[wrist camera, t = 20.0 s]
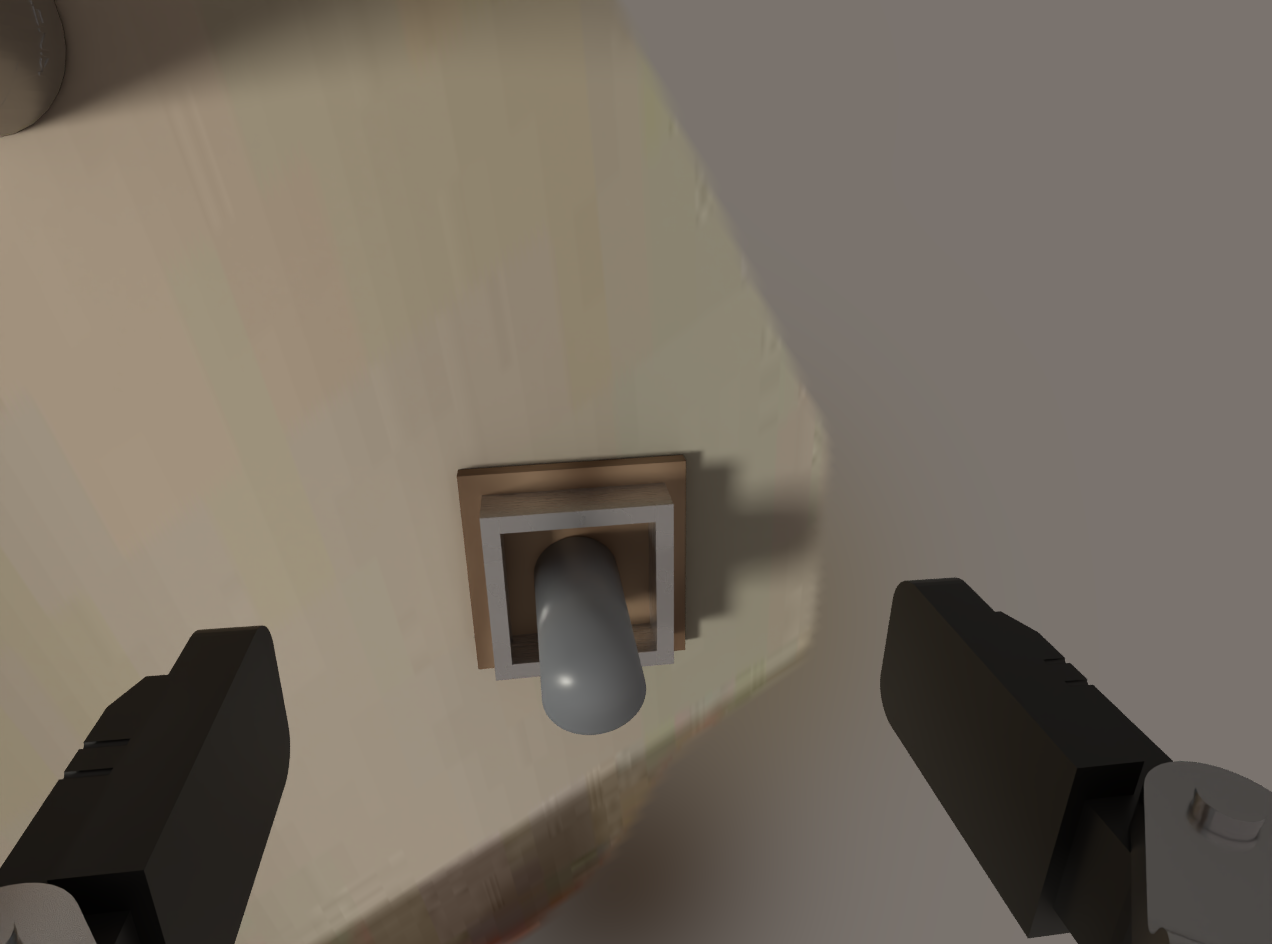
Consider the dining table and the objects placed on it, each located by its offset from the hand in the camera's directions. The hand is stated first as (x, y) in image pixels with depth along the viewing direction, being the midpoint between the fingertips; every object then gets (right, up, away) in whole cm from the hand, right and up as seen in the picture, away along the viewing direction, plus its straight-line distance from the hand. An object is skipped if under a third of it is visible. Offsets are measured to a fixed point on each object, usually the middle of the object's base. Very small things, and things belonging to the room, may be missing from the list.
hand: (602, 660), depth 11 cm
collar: (-3, -3, +40) cm, 40 cm away
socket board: (-3, -3, +40) cm, 40 cm away
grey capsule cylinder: (-3, -4, +39) cm, 39 cm away
